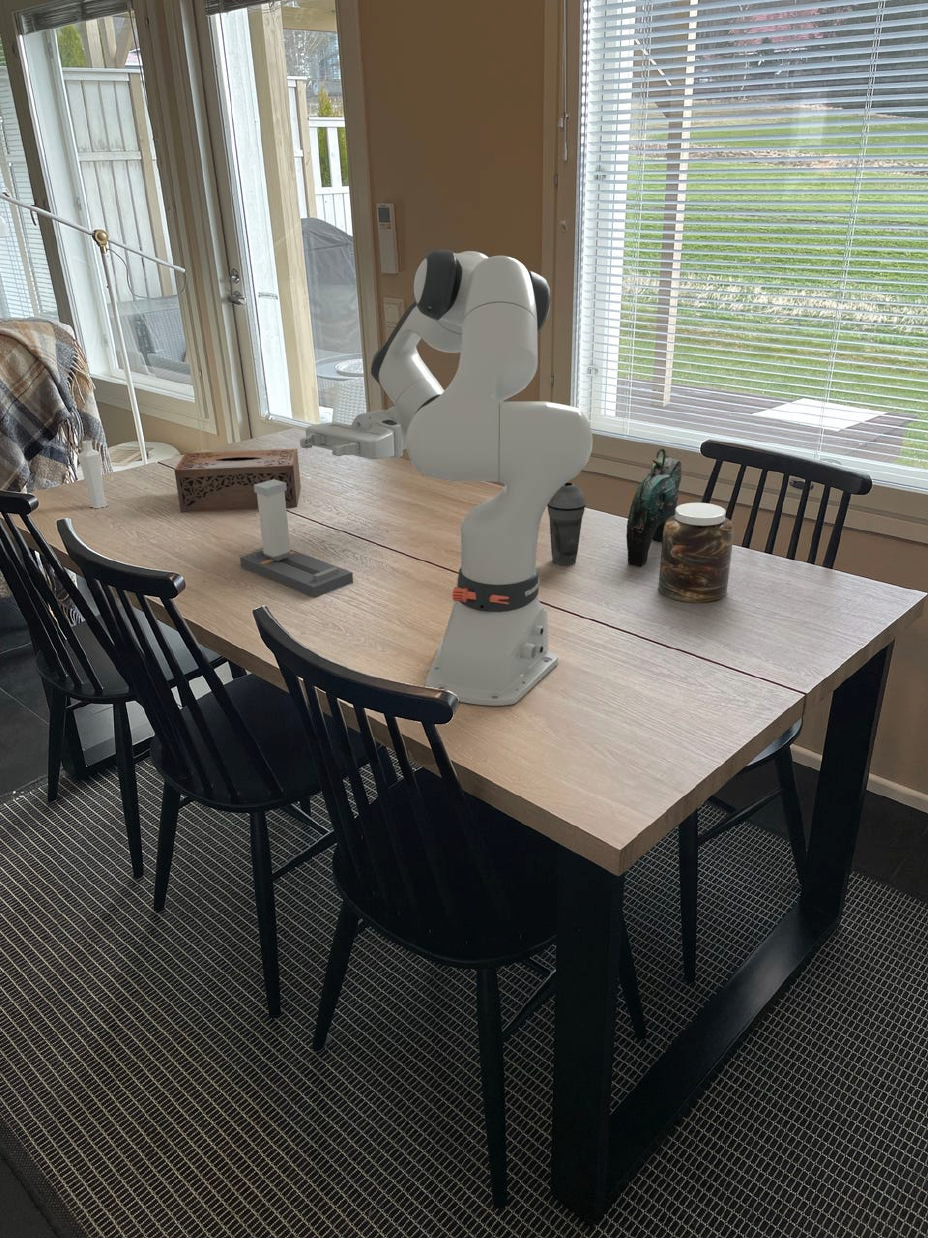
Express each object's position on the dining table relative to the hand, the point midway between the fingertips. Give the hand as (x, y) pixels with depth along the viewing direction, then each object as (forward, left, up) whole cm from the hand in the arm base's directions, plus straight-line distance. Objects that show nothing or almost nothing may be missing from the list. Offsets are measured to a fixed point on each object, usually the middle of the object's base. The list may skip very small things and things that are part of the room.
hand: (318, 447), depth 176 cm
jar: (+3, -71, -21) cm, 74 cm away
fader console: (-13, 0, -21) cm, 25 cm away
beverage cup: (+9, -46, -21) cm, 52 cm away
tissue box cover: (+23, +34, -21) cm, 46 cm away
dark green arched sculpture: (+20, -61, -21) cm, 68 cm away
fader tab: (-11, +5, -19) cm, 22 cm away
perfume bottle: (+9, +63, -21) cm, 67 cm away
